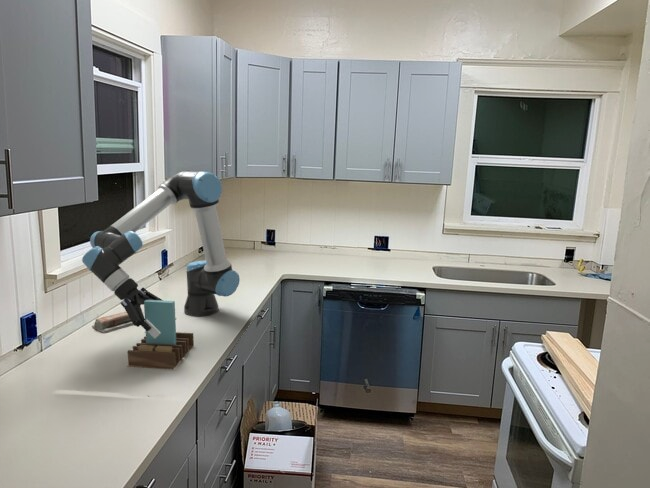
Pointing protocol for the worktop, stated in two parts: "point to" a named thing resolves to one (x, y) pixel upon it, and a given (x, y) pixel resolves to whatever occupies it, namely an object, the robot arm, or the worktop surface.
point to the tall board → (161, 321)
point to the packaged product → (112, 322)
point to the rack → (161, 353)
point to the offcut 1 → (146, 348)
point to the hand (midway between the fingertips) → (166, 328)
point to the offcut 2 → (163, 349)
